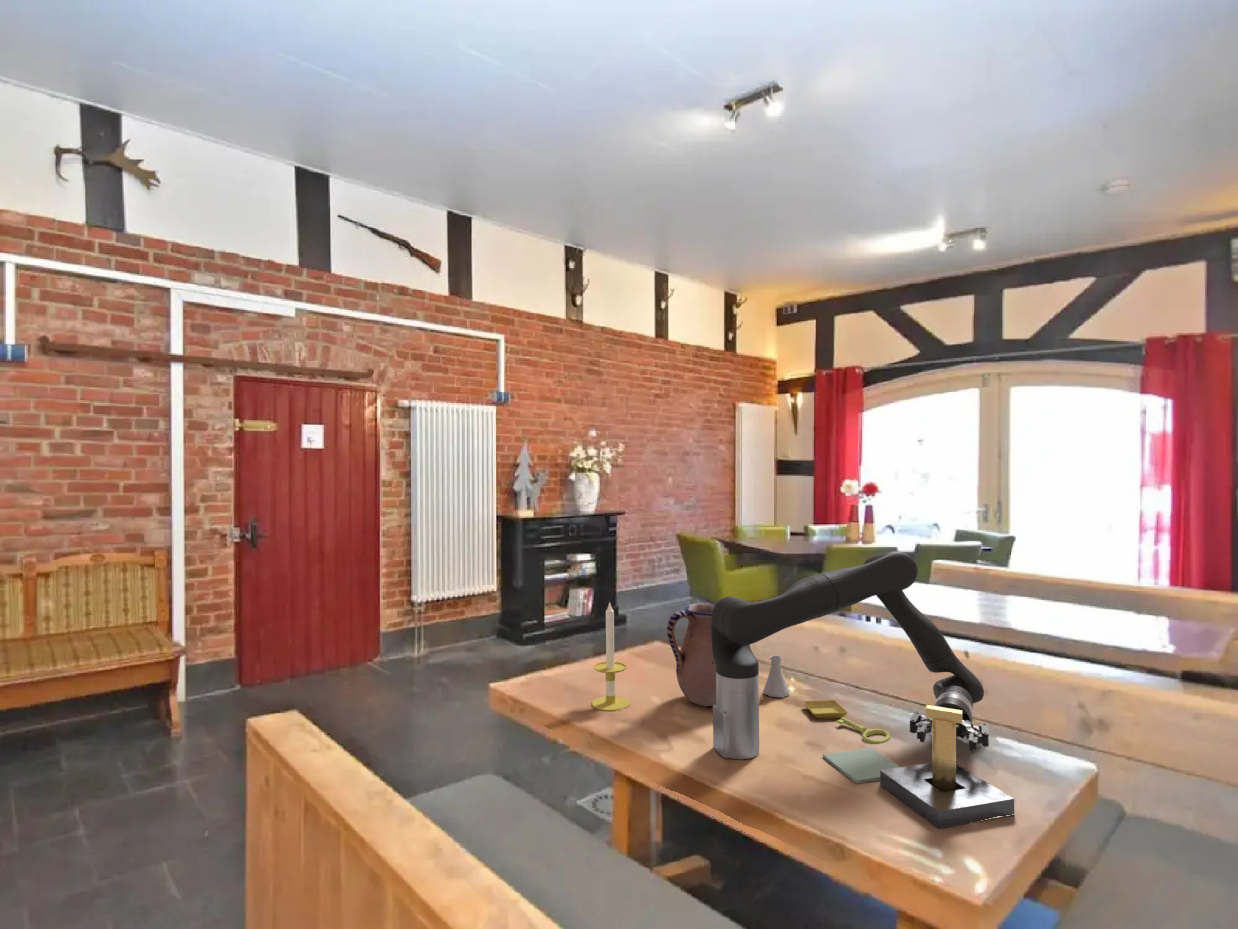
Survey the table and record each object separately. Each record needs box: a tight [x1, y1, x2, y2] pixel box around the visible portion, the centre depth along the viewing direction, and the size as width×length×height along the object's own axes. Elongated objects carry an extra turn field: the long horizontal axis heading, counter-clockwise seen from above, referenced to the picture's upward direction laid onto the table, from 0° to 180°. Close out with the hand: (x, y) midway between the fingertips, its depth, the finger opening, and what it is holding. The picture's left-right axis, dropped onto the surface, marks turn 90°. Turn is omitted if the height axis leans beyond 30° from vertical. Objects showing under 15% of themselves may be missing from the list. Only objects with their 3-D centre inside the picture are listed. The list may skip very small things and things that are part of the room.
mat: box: [822, 747, 900, 784], centre depth 141 cm, size 12×12×1 cm
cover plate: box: [879, 762, 1015, 830], centre depth 127 cm, size 16×16×3 cm
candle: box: [591, 601, 631, 712], centre depth 177 cm, size 10×10×27 cm
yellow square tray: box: [802, 699, 849, 719], centre depth 170 cm, size 9×9×2 cm
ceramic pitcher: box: [666, 601, 716, 707], centre depth 177 cm, size 18×21×25 cm
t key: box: [925, 704, 962, 792], centre depth 126 cm, size 6×4×17 cm, turn 60°
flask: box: [762, 655, 790, 699], centre depth 184 cm, size 7×7×10 cm
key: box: [836, 716, 891, 744], centre depth 157 cm, size 7×12×2 cm, turn 51°
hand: (946, 741), depth 131 cm, fingers open, 8 cm apart
